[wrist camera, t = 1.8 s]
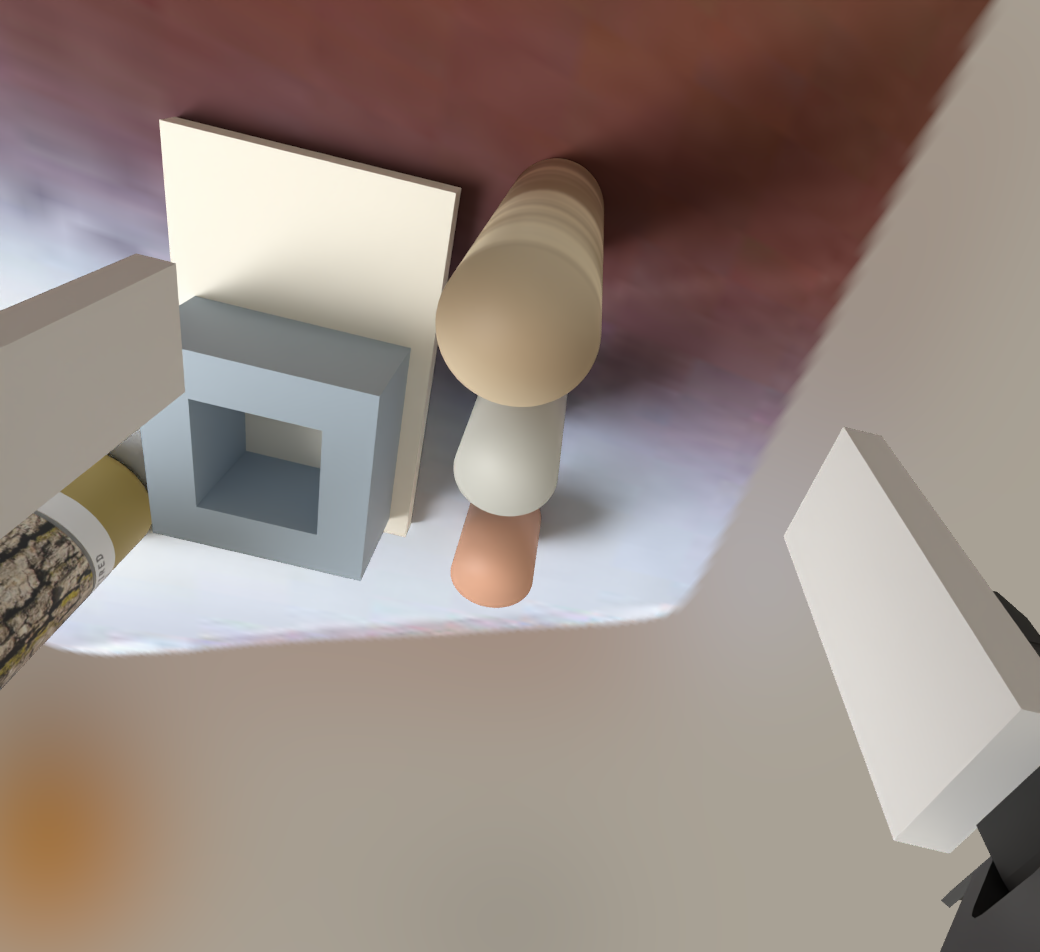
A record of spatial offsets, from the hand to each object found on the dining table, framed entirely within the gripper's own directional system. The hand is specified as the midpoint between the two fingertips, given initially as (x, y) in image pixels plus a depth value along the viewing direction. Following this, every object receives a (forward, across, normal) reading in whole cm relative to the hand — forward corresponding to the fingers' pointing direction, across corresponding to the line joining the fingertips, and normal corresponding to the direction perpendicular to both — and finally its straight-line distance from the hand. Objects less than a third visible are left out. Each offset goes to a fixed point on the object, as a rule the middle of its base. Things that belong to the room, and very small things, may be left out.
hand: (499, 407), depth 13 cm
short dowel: (+18, +1, -16) cm, 24 cm away
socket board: (+18, -10, -9) cm, 22 cm away
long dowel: (+18, 0, 0) cm, 18 cm away
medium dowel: (+18, 0, -8) cm, 19 cm away
